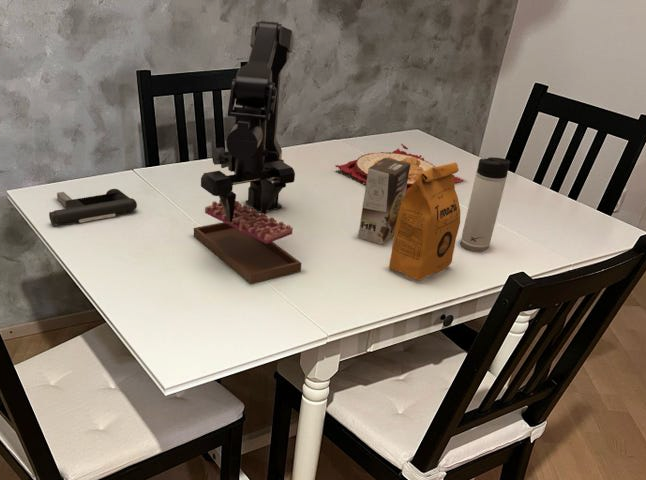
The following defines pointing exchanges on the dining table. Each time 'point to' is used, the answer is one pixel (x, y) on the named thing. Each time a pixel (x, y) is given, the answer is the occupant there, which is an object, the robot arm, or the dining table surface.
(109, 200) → the door handle
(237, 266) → the tray
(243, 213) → the pink flat grid slab
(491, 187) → the travel mug
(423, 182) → the coffee package
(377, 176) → the coffee box
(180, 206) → the dining table surface
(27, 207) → the dining table surface
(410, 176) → the plate with food
